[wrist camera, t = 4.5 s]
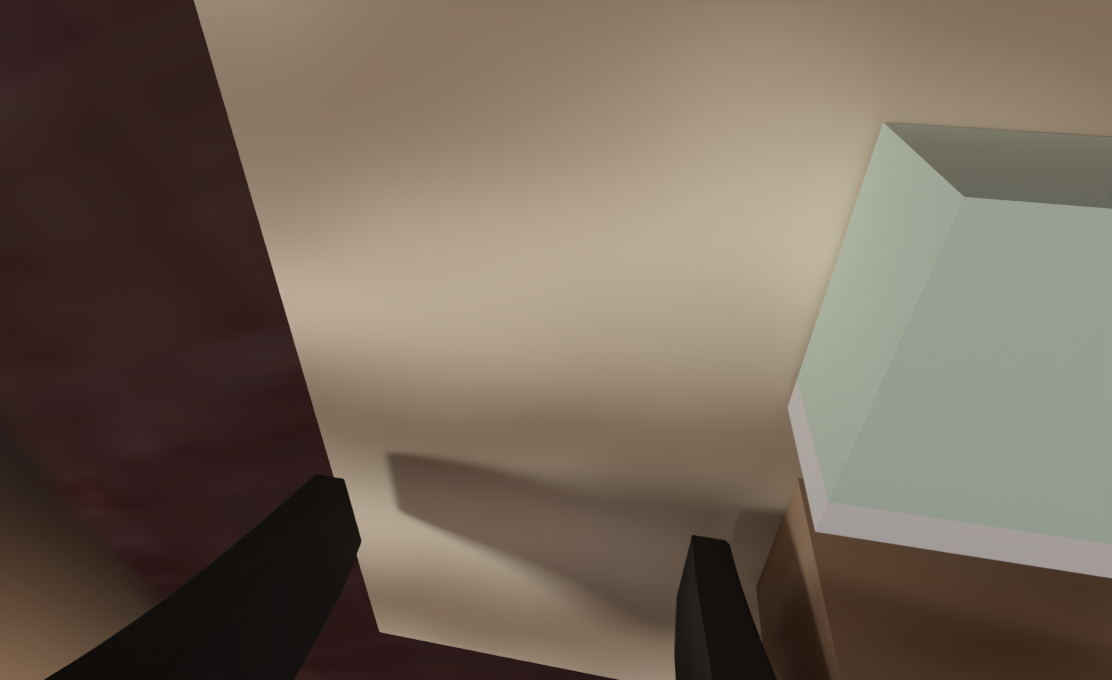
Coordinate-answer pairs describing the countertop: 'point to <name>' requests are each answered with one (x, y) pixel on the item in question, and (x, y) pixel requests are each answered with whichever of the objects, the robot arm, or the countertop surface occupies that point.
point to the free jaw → (968, 352)
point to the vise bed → (588, 269)
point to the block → (923, 612)
